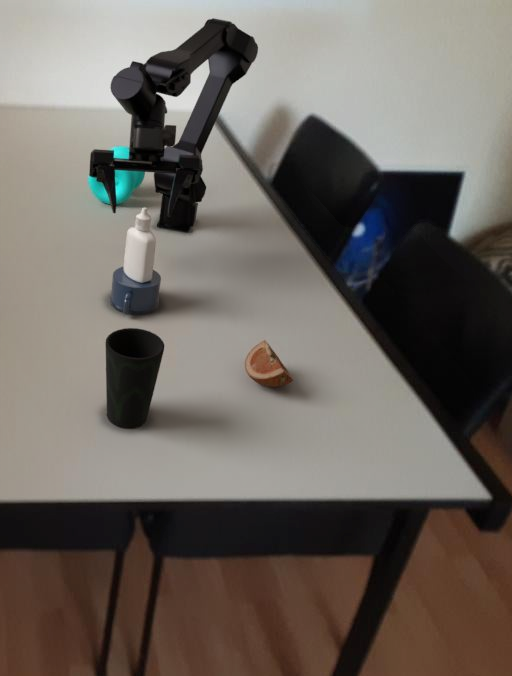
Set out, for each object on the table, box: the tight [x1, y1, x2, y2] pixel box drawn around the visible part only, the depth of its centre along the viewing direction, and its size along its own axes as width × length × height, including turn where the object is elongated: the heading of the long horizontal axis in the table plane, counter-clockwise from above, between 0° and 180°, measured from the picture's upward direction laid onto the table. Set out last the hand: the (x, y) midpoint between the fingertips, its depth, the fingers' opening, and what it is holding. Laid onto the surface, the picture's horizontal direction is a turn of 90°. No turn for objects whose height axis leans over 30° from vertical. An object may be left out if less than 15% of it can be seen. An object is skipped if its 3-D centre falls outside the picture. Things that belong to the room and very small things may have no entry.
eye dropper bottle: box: [122, 206, 157, 283], centre depth 137 cm, size 4×6×12 cm
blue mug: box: [109, 266, 162, 316], centre depth 142 cm, size 10×8×5 cm
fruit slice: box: [244, 339, 294, 387], centre depth 124 cm, size 8×7×5 cm
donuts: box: [88, 145, 146, 205], centre depth 178 cm, size 10×10×10 cm
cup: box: [105, 327, 165, 430], centre depth 114 cm, size 8×8×12 cm
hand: (141, 214), depth 143 cm, fingers open, 9 cm apart
